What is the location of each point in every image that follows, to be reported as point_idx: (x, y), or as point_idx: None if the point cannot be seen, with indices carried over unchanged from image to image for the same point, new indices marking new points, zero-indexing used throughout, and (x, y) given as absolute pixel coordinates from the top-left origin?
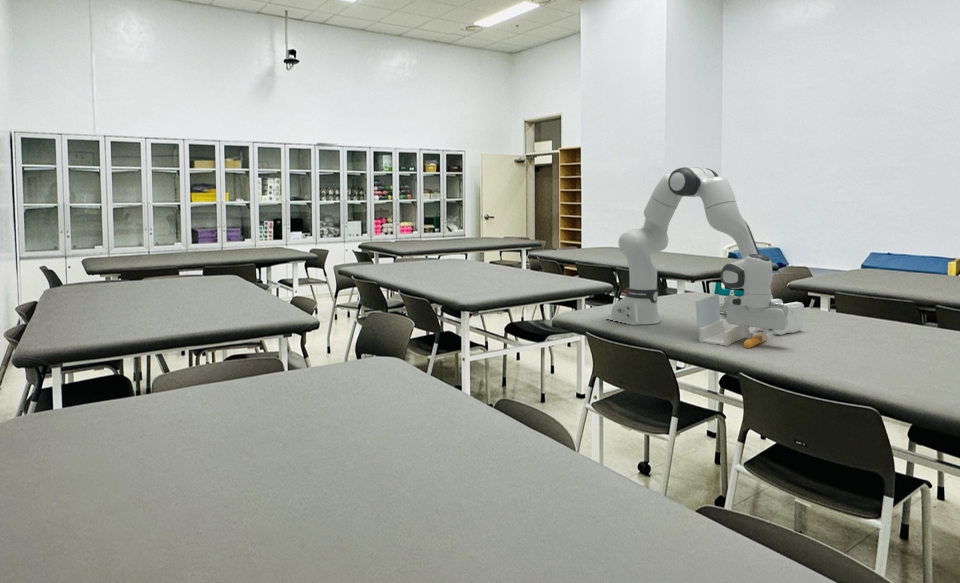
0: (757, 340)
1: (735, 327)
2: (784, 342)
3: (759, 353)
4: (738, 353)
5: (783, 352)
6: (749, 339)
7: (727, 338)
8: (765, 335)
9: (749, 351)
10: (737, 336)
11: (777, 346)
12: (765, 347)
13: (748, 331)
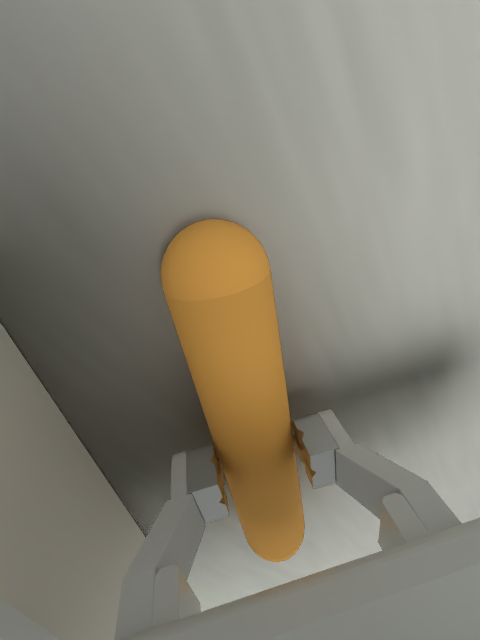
0: (296, 467)
1: (7, 632)
2: (419, 145)
3: (365, 518)
4: (292, 573)
5: (462, 428)
6: (282, 549)
7: None
8: (269, 293)
9: (312, 530)
10: (70, 489)
11: (401, 343)
12: (343, 423)
13: (185, 534)
